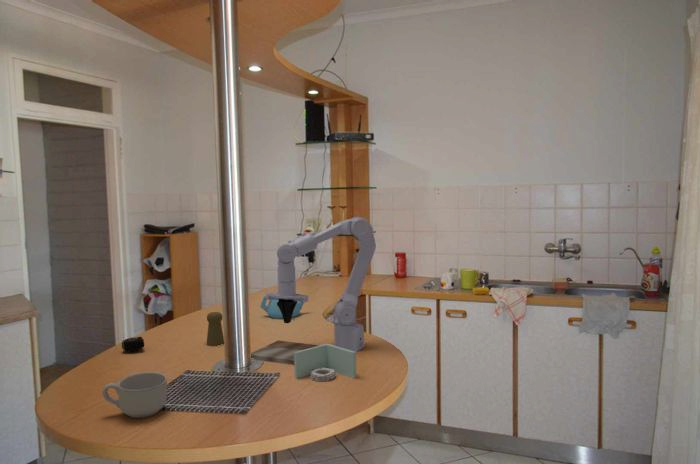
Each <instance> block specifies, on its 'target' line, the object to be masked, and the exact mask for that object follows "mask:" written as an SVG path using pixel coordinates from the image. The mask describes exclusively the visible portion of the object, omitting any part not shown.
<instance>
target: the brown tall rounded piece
mask: <svg viewBox="0 0 700 464" xmlns="http://www.w3.org/2000/svg"><path fill="white" fill-rule="evenodd" d="M206 320H207V322H208V324H207V335H206V336H207V337H206V346H208V347H219V346H218V345H220V346H222V345H221V344H223V345H224V344H225V338H224V333H223V326H222V320H223V314H222V313H221V312H220V311H212V312H209V313H208V314H207V315H206Z"/></svg>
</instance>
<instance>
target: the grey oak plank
mask: <svg viewBox="0 0 700 464" xmlns="http://www.w3.org/2000/svg"><path fill="white" fill-rule="evenodd" d="M297 351H301V350H296V349H288V348H280V347H272V346H267V345H266V346H263V347H262V348H261V347H260V348H259V349H257V350H255V351H253V352H250V353H251V358H254V359H260V360H259V361H263V362H269V363H278V364H285V365H291V366H293V365H294V352H297ZM254 359H253V360H254Z"/></svg>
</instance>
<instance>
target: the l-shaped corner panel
mask: <svg viewBox="0 0 700 464" xmlns="http://www.w3.org/2000/svg"><path fill="white" fill-rule="evenodd" d="M318 345H319V344H318ZM356 353H357V352H355V351H351V350H348V349H344V348H341V347H337V346H335V344H329V343H324V344H320V345H319V346H316V347H312V348H308V349H305V350H301V351H297V352H294V367H293V368H294V379H301V378H304V377H306V376H309V375H310V376H309V378H310V379H311V380H312V381H314V382H319V383H320V382H330V381H331V380H332V381H333V380H334V378H336V374H340V375H342V376H346V377H349V378H351V379H356V378H357V354H356Z"/></svg>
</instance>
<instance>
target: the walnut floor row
mask: <svg viewBox="0 0 700 464" xmlns="http://www.w3.org/2000/svg"><path fill="white" fill-rule="evenodd" d="M266 346H272V347H280V348H288V349H296V350H305V349H308V348H312V347H316V346H319V344H311V343H304V342H295V341H294V342H293V341H288V340H287V341H284V340H276V341H273V342H272V343H270V344H268V345H266Z"/></svg>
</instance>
